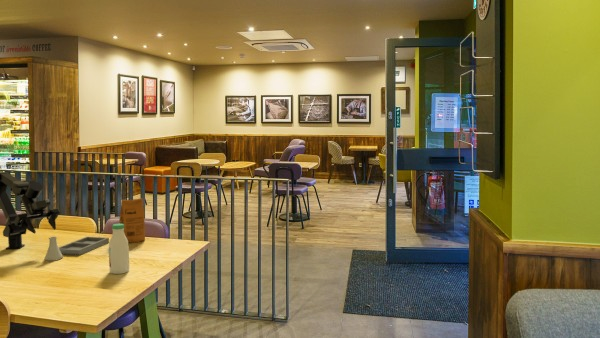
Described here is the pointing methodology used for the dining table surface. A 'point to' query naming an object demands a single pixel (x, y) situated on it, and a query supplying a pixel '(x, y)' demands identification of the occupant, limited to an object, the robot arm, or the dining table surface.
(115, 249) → the milk bottle
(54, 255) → the flask
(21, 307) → the dining table surface
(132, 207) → the coffee package
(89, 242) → the caddy tray
